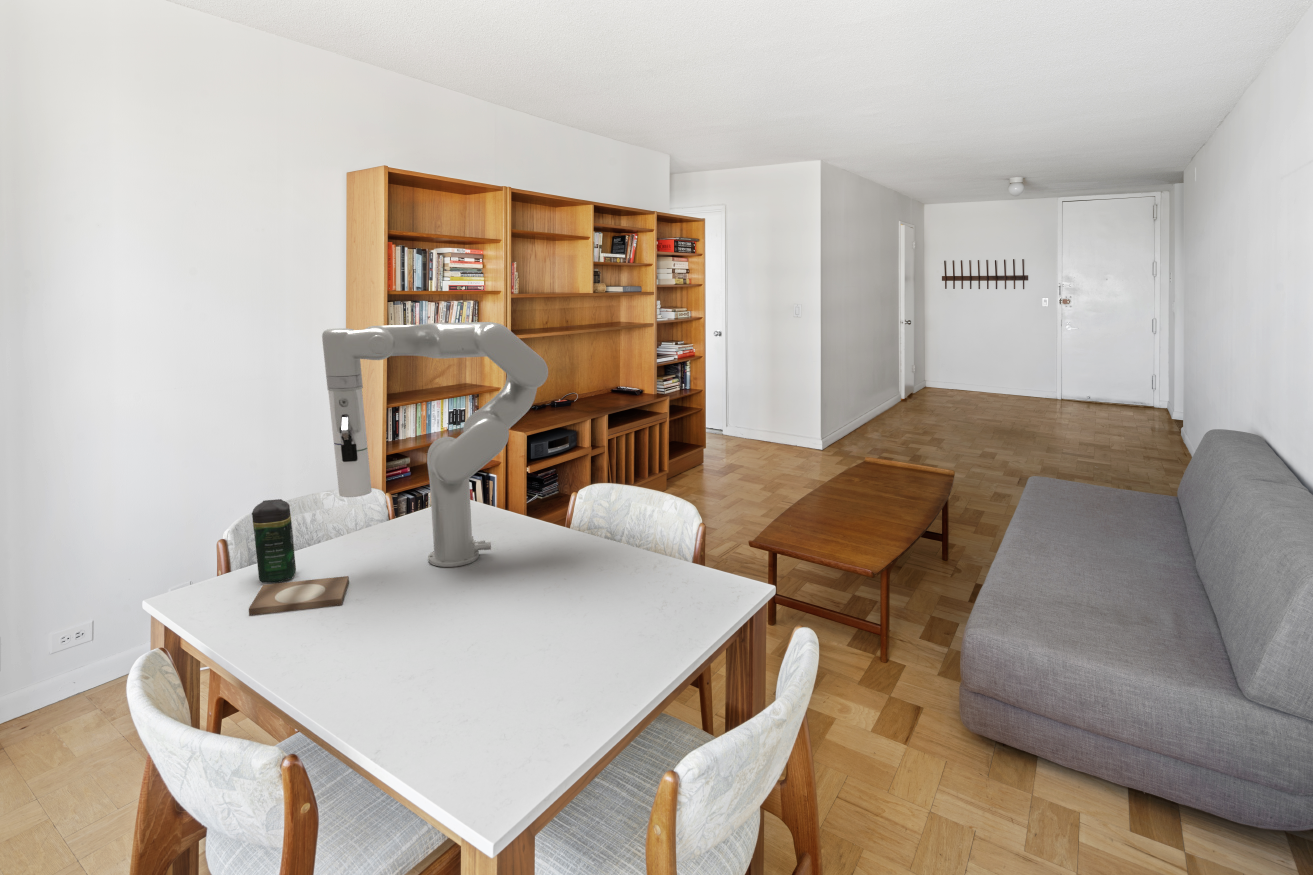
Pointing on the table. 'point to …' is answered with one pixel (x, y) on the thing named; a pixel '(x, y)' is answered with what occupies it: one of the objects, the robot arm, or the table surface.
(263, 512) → the coffee jar
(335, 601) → the walnut board
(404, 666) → the table surface
